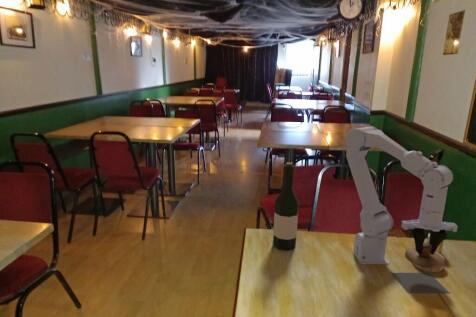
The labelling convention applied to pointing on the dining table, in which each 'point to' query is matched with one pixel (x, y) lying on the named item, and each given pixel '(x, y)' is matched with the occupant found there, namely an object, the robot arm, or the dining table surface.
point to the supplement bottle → (439, 249)
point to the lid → (424, 257)
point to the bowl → (430, 268)
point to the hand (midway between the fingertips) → (424, 252)
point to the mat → (419, 283)
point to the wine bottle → (286, 213)
